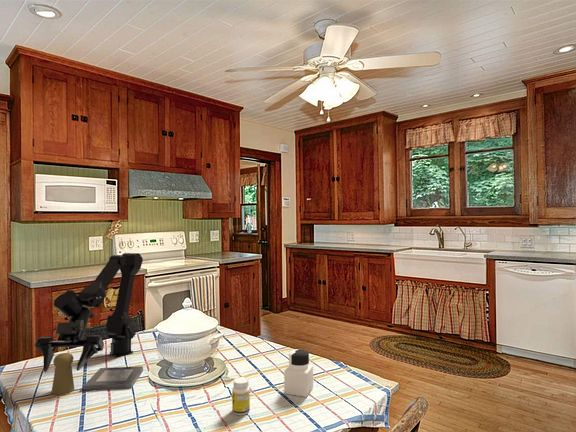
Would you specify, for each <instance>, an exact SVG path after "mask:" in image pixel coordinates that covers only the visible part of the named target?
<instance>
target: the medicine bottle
mask: <svg viewBox="0 0 576 432" xmlns="http://www.w3.org/2000/svg"><path fill="white" fill-rule="evenodd" d="M283 371H284V373H283V376H284V377H283V378H284V381H283V382H284V383H283V384H284V387H283V388H284V390H283V393H284V394H285V395H291V396H295V395H296V397H301V396H302V397H304V398H307V397H308V396H309V394H310V393H311V391H312V390H313V388H314V365H313V364H310V353H309V351H307V350H305V349H301V348H300V349H299V348H297V349H294V350H291V351H289V353H288V366H287V367H286V368H285V369H284V370H283ZM302 397H301V398H302Z"/></svg>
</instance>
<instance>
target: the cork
mask: <svg viewBox="0 0 576 432" xmlns="http://www.w3.org/2000/svg"><path fill="white" fill-rule="evenodd" d="M52 362H53V366H54V367H55V368H54V372H53V373H54V374H53V379H52V380H53V381H52V387H51V392H50V393H51V395H53V396H64V395H67V394H70V393H72V392H73V391H75V384H74V383H75V381H74V375H73V368H72V364H73V362H74V355H73V354H72V353H69V352H65V353H59V354H57V355H55V357H53V360H52Z"/></svg>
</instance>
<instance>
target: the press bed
mask: <svg viewBox="0 0 576 432" xmlns="http://www.w3.org/2000/svg"><path fill="white" fill-rule="evenodd" d="M143 372H144V366H143V365H142V366H141V365H140V366H139V365H138V366H121V367H120V366H119V367H118V366H117V367H115V366H114V367H100V368H99V369H98V370H97V371H96V372H95V373H94V374H93V375H92V376H91V377H90V379H89V380H87V381H86V382H85V384H83V391H84V392H85V391H100V390H101V391H103V390H104V391H105V390H122V389H124V390H125V389H132V388H133V387H134V385H135V384H136V383H137V380H138V379H139V378H140V376H141V374H142V373H143Z"/></svg>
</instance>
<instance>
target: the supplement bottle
mask: <svg viewBox="0 0 576 432" xmlns="http://www.w3.org/2000/svg"><path fill="white" fill-rule="evenodd" d="M249 384H250V383H249V379H248V378H247V377H243V376H242V377H241V376H240V377H237V378H235V379H233V387H232V388H231V389H232V390H231V391H232V395H231V396H232V397H231V399H232V401H231V403H232V405H231V406H232V407H231V408H232V409H231V411H232V413H233V414H234V415H237V416H245V415H247V414H249V413H250V411H251V406H250V405H251V404H250V403H251V402H250V401H251V394H250V393H251V387H250V386H249Z"/></svg>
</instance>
